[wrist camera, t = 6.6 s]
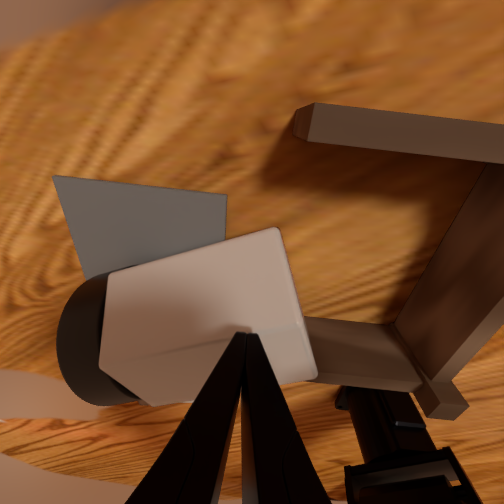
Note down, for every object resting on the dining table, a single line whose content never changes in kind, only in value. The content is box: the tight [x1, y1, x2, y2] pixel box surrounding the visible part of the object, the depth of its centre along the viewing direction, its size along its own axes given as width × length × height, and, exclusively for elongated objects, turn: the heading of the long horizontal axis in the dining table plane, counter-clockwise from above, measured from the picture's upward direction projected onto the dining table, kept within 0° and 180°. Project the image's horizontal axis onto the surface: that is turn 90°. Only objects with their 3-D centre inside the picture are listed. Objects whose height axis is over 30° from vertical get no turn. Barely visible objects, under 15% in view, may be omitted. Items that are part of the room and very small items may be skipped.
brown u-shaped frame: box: [293, 102, 504, 421], centre depth 13 cm, size 17×13×6 cm
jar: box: [56, 227, 318, 407], centre depth 14 cm, size 9×8×12 cm
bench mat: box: [52, 175, 227, 281], centre depth 17 cm, size 11×11×1 cm
